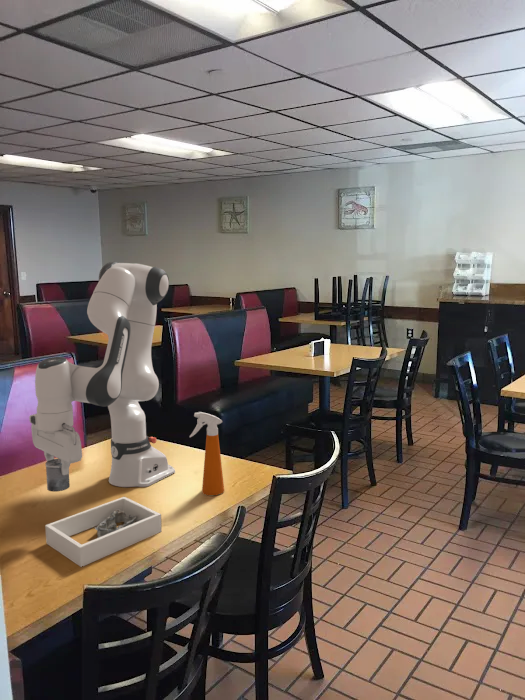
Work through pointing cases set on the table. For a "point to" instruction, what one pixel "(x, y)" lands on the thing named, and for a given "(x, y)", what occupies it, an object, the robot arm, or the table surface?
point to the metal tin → (56, 476)
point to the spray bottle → (211, 454)
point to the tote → (108, 543)
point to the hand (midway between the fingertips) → (58, 470)
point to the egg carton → (110, 523)
